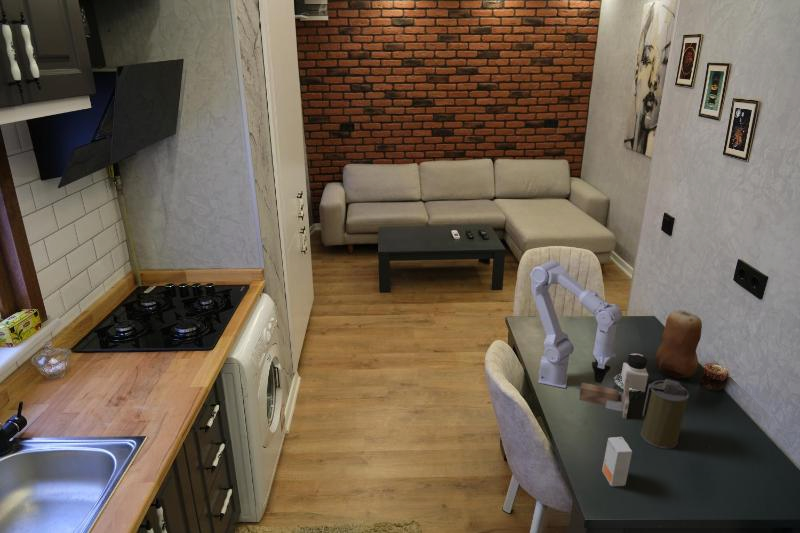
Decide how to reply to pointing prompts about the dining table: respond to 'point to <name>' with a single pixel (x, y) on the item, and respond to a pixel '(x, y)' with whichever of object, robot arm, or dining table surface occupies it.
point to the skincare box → (617, 461)
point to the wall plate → (626, 398)
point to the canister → (664, 413)
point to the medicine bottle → (635, 372)
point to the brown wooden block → (597, 393)
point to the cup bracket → (616, 403)
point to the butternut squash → (679, 345)
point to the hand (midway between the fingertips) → (598, 376)
